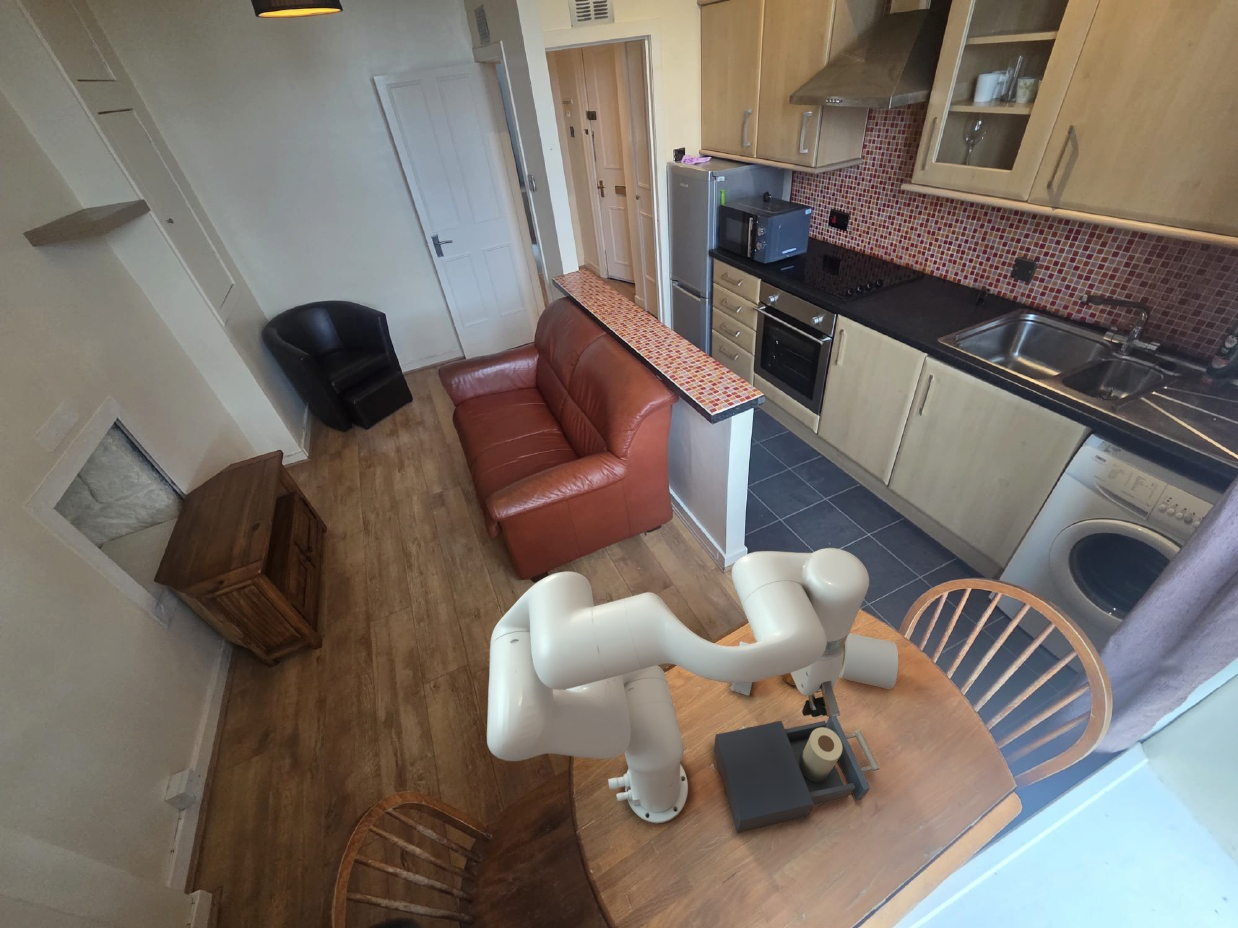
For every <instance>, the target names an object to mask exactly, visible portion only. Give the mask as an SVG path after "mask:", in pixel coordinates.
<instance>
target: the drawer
mask: <svg viewBox="0 0 1238 928" xmlns="http://www.w3.org/2000/svg"><path fill="white" fill-rule="evenodd" d="M821 727H823V728H828V729H830V730H832V731H833V732H835V733H836V734H837V736H838V737H839V738H840V740H841V743H842V753H841V755H840V757H839V759H838V760H837V762H838V764H839V766H840V767H839V768H840V769H841V772H842V774H843V776H844V778H845V781H846V782H847V783H846V784H844V783H843V781H842V779H841V777H840V774H839V772H838V769H837V766H836V764H835V765H834V767H833V769H832V770H831V772H830V774H829V775H828V777H827V778H826V780H824V781H823V782H819V783H816V782H812V781H810V780H808V779H807V778H806V777H805V776H804V775H803V774H802V775H803V777H804V780H805V783H806V785H807V788H808V790H809V793H810V795H811V798H812V801H813V803H814V805H813V806H818V805H821V804H827V803H830V802H835V801H840V800H844V799H848V798H849V796H850V795H851V794H852V796H853V798H854V800H855V802H858V801H862V799H863V798H864V797H865V796H866V794H867V793H868V792H869V791H870V790H871V787H870V785H869V783H868V781H867V779H866V777H865V774H864V772H869V771H872V772H877V771H879V770H880V769H881V768H880V767H879V765H878V763H877V760H876V758H875V757H874V754H873V752H872V750H871V748H870V746H869V744H868V742H867V740H866V738H865V736H864V734H863V732H862V730H860V729H859V730H856V731H854V732H853V733H848V734H845V732H844V730H843V727H842V725H841V723H840V720H838V716H836V717H828V718H827V720H820V721H817V722H812V723H808V724H803V725H798V726H792V727H789V728H784V729H785V731H786V734H787V736H788V739H789V741H790V744H791V747H792V749H793V752H794V754H795V757H796V759H797V762H798V765H799V760H800V757H801V755H802V753H803V751H804V748H805V746H806V744H807V742H808V740H809V737H810V735H811V733H812V732H813V731H814V730H815V729H817V728H821ZM853 738H856V740H857V741H858V744H859V746H860V749H861V750H862V752H863V754H864V757H865V759H866V761H867V763H868V765H867V766H863V767H861V766H860V764H859V761H858V760H857V757H856V755H855V753H854V751H853V749H852V747H851V745H850V742H849V740H850V739H853ZM799 767H800V766H799Z"/></svg>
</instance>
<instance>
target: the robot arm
mask: <svg viewBox="0 0 1238 928" xmlns="http://www.w3.org/2000/svg"><path fill="white" fill-rule="evenodd" d="M731 579H732V583H733V586H734V588H735V591H736V593H737V597H738V599H739V601H740V604H741V606H742V609H743V612H744V614H745V616H746V619H747V622H748V625H749V628H750V630H751V632H752V635H753V638H754V640H755V642H752V643H748V645H742V646H739V645H722V644H718V643H714V642H711V641H709V640H707V639H705V638H703V637H702V636H700V635H698V634H696V633H695V632H694V631H692V630H691V629H689V628H688V627H687V626H686V625H685V624H684V623H682V621H680V619H679V618H678V617H677V616H676V615H675V614H674V612H673V611H672V610H671V609H670V607H668V605H667V604H666V602H664V600H663V599H662V598H661V597H660V596H659V595H658V594H657V593H653V592H650V591H647V592H642V593H639V594H635V595H632V596H629V597H625V598H619V599H617V600H613V601H609V602H605V603H601V604H599V605H598V604H597V605H596V606H595V603H594V596H593V590H592V589H593V588H592V586H591V583H590V581H589V579H588V578H587V577H586V576H584V575H583V574H581V573H579V572H575V571H568V570H567V571H561V572H556V573H552V574H549V575H547V576H546V577H543V578H542V579H540V580H539V581H537V582H535V583H534V584H533V585H532V586H530V588H528V589H527V590H526V591H525V592H524V593H523V594H522V595H521V596H520V597H519V599H517V601H516V602H514V604H513V605H512V606H511V607H510V608H509V610H508V611H506V612H505V614H504V615H503V616H502V617H501V618H500V619H499V621H498V622H497V623H496V625H495V627H494V629H493V631H492V634H491V637H490V646H489V671H488V672H489V677H488V691H487V692H488V693H487V695H488V696H487V719H486V721H487V723H486V744H487V747H488V749H489V751H490V753H491V754H492V755H493V756H495V758H497V759H500V760H503V761H506V762H520V761H524V760H525V761H526V760H529V759H532V758H536V757H538V756H542V755H548V754H549V755H550V754H553V755H559V756H568V757H576V758H585V759H594V760H611V759H616V758H618V757H620V756H621V755H623V754H624V757H625V762H626V764H627V768H628V769H627V772H626V773H623V776H620V777H617V776H616V777H612V778H608V779H607V780H608V781H607V782H608V788H609V791H613V790H617V789H620V788H624V791H625V792H623V791H622V792H618V793H616V801H617V802H622V801H626V800H627V802H628V805H629V806H630V808H631V810H632V811H633V812H634V813H635V814H636V816H638V817H639V818H640V819H642V820H644V821H646V822H647V823H652V824H663V823H667V822H669V821H671V820H673V819H674V818H676V817H677V816H678V815H679V814H680V813H681V812H682V810H683V808H684V807H685V805H686V802H687V799H688V795H689V794H688V793H689V782H688V777H687V774H686V770H685V769H684V767H683V765H682V764H681V761H682V760H683V756H684V743H683V738H682V733H681V729H680V725H679V721H678V717H677V713H676V710H675V709H676V708H675V706H674V701H673V698H672V693H671V689H670V685H669V682H668V678H667V676H666V673H665V671H664V670H663V668H662V667H660V666H659V665H665V664H670V665H674V666H677V667H679V668H681V669H684V670H685V671H687V672H689V673H692V674H693V675H696V676H698V677H700V678H704V679H706V680H710V681H715V682H718V683H719V682H720V683H726V684H732V683H737V684H743V683H752V684H753V683H757V682H760V681H763V680H764V681H765V680H769V679H771V678H775V677H780V676H782V675H784V674H787V673H791V675H792V678H793V680H794V682H795V684H796V685H795V686H796V689H797V691H798V692H799V693H800V694H801V695H802V696H804V697H808V699H807V700H805V703H804V705H803V707H802V710H801V713H802V715H803V717H806V716H811V718H817V717H821V716H823V717H828V718H829V717H840V716H841V712H840V708H839V704H838V702H837V698H836V695H835V692H834V688H835V687H836V685H837V682H838V681H839V679H840V677H839V675H840V672H841V668H842V663H843V655H844V648H843V645H844V644H845V642H846V639H847V637H848V635H849V633H851V630H852V628H853V625H854V623H855V621H856V618H857V616H858V613H859V611H860V610H861V607H862V605H863V602H864V600H865V598H866V595H867V593H868V590H869V586H870V576H869V571H868V570H867V568H866V566H865V565H864V563H863V562H862V561H861V560H860V558H858V557H857V556H856V555H854V554H852V553H851V552H849V551H846V550H844V549H840V548H836V547H827V548H821V549H818V550H815V551H814V552H795V551H794V552H792V551H778V550H777V551H775V550H761V551H753V552H750V553H746V554H744V555H743V556H741V557H739V558H738V559H737V560H736V561H735V562H734V563H733V566H732V568H731ZM816 693H821V695H822V696H819V697H816ZM675 810H676V811H675Z"/></svg>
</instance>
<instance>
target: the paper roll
mask: <svg viewBox="0 0 1238 928" xmlns="http://www.w3.org/2000/svg"><path fill="white" fill-rule="evenodd" d="M841 753H842V743H841V740H840V738H839V737H838V736H837V734H836V733H835V732H833V731H832V730H830V729H828V728H823V727H821V728H817V729H815V730H814V731H813V732H812V733H811V735H810V737H809V740H808V742H807V744H806V746H805V748H804V751H803V753H802V755H801V757H800V760H799V766H800V770H801V772H802V774H803V775H804V776H805V777H806V778H807V779H808V780H810V781H812V782H816V783H819V782H823V781H824V780H826V778H827V777H828V775H829V774H830V772H831V770H832V769H833V767H834V765H835V766H836V764H837V762H838V759H839V757H840V755H841Z"/></svg>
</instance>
